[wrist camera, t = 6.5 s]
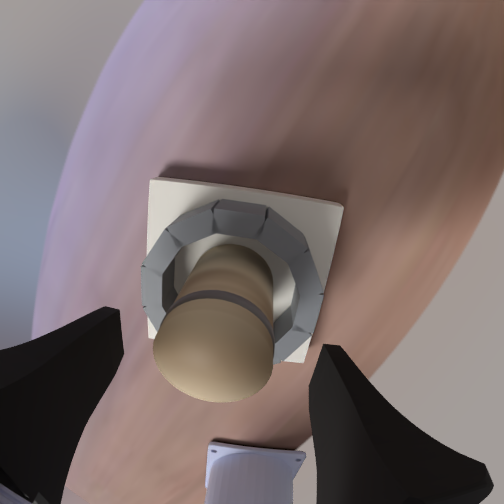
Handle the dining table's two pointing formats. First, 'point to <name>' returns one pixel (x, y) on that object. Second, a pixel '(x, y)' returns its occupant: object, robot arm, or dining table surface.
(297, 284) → the collar stand
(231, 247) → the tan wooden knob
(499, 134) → the dining table surface
